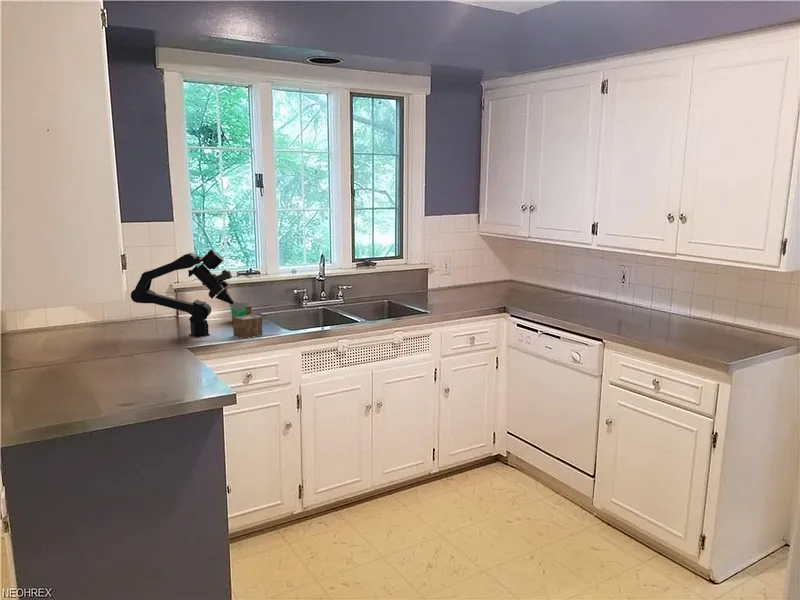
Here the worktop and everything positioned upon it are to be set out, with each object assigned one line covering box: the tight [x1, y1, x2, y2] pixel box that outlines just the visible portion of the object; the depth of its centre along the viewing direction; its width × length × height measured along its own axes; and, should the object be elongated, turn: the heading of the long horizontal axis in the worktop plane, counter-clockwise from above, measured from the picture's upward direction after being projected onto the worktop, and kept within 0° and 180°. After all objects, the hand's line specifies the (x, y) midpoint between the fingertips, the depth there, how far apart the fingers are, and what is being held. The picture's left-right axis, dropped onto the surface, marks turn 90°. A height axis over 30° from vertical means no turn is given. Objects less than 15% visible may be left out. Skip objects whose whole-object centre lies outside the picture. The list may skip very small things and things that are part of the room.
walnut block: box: [232, 313, 263, 339], centre depth 262 cm, size 9×8×8 cm
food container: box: [228, 299, 253, 322], centre depth 288 cm, size 12×6×10 cm, turn 62°
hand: (233, 303), depth 261 cm, fingers closed
